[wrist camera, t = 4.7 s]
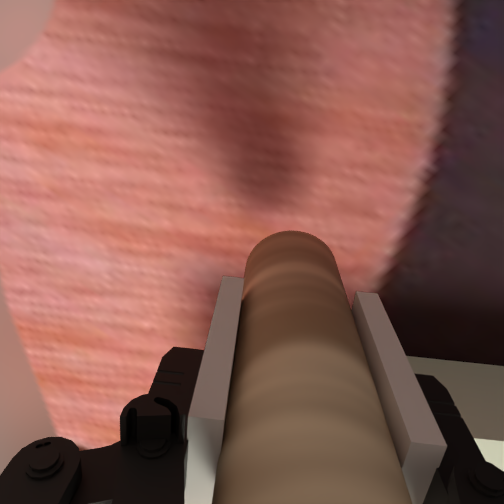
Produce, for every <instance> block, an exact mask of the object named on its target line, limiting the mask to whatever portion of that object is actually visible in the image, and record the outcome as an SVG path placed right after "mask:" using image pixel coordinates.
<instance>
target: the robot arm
mask: <svg viewBox="0 0 504 504" xmlns="http://www.w3.org/2000/svg"><path fill="white" fill-rule="evenodd" d="M243 285H244V278H238V277H230V276H223V277H222V281H221V285H220V289H219V293H218V297H217V301H216V305H215V309H214V313H213V317H212V321H211V325H210V330H209V334H208V338H207V342H206V346H205V350H198V349H189V348H181V347H173V348H172V349H171V350H170V351H169V352H167V353H166V354H165V355H164V356H163V357H162V360H161V362H160V365H159V367H158V370H157V372H156V375H155V378H154V380H153V383H152V385H151V388H150V391H149V393H148V394H145V395H141V396H139V397H137V398H135V399H133V400H131V401H130V402H129V403H128V404H127V405H126V406H125V407H124V409H123V411H122V413H121V415H120V439H121V441H119V442H117V443H114V444H112V445H109V446H106V447H102V448H96V449H90V450H84V451H79V448H78V447H77V446H76V444H75V443H74V442H73V441H71V440H69V439H66V438H63V437H47V438H44V439H40V440H37V441H34V442H32V443H31V444H29V445H27V446H26V447H24V448H22V449H21V450H20V451H19V452H18V453H17V454H16V455H15V456H14V457H13V458H12V460H11V461H10V462H9V464H8V466H7V467H6V468H5V469H4V471H3V472H2V474H1V475H0V504H212V497H213V490H214V484H215V477H216V470H217V464H218V459H219V456H220V453H221V447H222V440H223V432H224V425H225V418H226V411H227V404H228V396H229V389H230V382H231V375H232V368H233V361H234V353H235V346H236V339H237V332H238V325H239V317H240V310H241V303H242V294H243ZM351 312H352V315H353V318H354V321H355V324H356V327H357V330H358V334H359V337H360V340H361V343H362V346H363V349H364V352H365V356H366V359H367V362H368V365H369V368H370V371H371V375H372V378H373V381H374V384H375V387H376V390H377V393H378V397H379V400H380V403H381V406H382V409H383V412H384V415H385V419H386V422H387V425H388V428H389V431H390V434H391V438H392V441H393V444H394V447H395V450H396V453H397V456H398V460H399V463H400V466H401V469H402V472H403V475H404V478H405V482H406V485H407V488H408V491H409V494H410V497H411V500H412V504H504V471H502V470H501V469H499V468H498V467H496V466H495V465H493V464H492V463H489V462H487V461H486V460H485V458H484V457H483V455H482V453H481V451H480V449H479V447H478V445H477V444H476V442H475V440H474V438H473V436H472V434H471V432H470V431H469V429H468V427H467V425H466V423H465V421H464V419H463V418H461V414H460V412H459V410H458V408H457V406H455V403H454V401H453V399H452V397H451V395H450V393H449V392H448V390H447V388H446V387H445V386H444V385H443V384H441V383H440V382H439V381H438V380H437V379H436V378H435V377H434V376H432V375H424V374H415V373H414V372H413V370H412V368H411V366H410V364H409V361H408V359H407V357H406V355H405V353H404V350H403V348H402V346H401V344H400V342H399V339H398V337H397V335H396V333H395V331H394V329H393V326H392V324H391V322H390V320H389V318H388V315H387V313H386V311H385V309H384V307H383V304H382V302H381V300H380V298H379V296H378V294H377V293H368V292H360V291H356V293H355V298H354V302H353V306H352V311H351Z"/></svg>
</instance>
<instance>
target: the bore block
mask: <svg viewBox="0 0 504 504" xmlns="http://www.w3.org/2000/svg"><path fill="white" fill-rule="evenodd" d="M406 357H407V359H408V361H409V364H410V366H411V368H412V370H413V372H414V373H415V374H424V375H432V376H434V377H435V378H436V379H437V380H438V381H439V382H440V383H441V384H443V385H444V386H445V387H446V388H447V390H448V392H449V393H450V395H451V397H452V399H453V401H454V403H455V406H457V408H458V410H459V412H460V414H461V418H463V419H464V421H465V423H466V425H467V427H468V429H469V431H470V432H471V434H472V436H473V438H474V440H475V442H476V444H477V445H478V447H479V449H480V451H481V453H482V455H483V457H484V458H485V460H486V461H487V462H489V463H492V464H493V465H495V466H496V467H498V468H499V469H501V470H502V471H504V366H497V365H488V364H478V363H469V362H459V361H450V360H440V359H431V358H421V357H412V356H406Z"/></svg>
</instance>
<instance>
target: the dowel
mask: <svg viewBox="0 0 504 504" xmlns="http://www.w3.org/2000/svg"><path fill="white" fill-rule="evenodd" d="M212 504H412V500H411V497H410V494H409V491H408V488H407V485H406V482H405V478H404V475H403V472H402V469H401V466H400V463H399V460H398V456H397V453H396V450H395V447H394V444H393V441H392V438H391V434H390V431H389V428H388V425H387V422H386V419H385V415H384V412H383V409H382V406H381V403H380V400H379V397H378V393H377V390H376V387H375V384H374V381H373V378H372V375H371V371H370V368H369V365H368V362H367V359H366V356H365V352H364V349H363V346H362V343H361V340H360V337H359V334H358V330H357V327H356V324H355V321H354V318H353V315H352V312H351V308H350V305H349V302H348V299H347V296H346V293H345V290H344V286H343V283H342V280H341V277H340V274H339V271H338V267H337V264H336V261H335V258H334V256H333V254H332V252H331V250H330V249H329V248H328V246H327V245H326V244H325V243H324V242H322V241H321V240H320V239H318V238H317V237H315V236H313V235H311V234H308V233H305V232H301V231H283V232H278V233H275V234H272V235H270V236H268V237H266V238H265V239H263V240H262V241H261V242H259V243H258V244H257V245H256V246H255V247H254V249H253V250H252V252H251V253H250V255H249V257H248V260H247V263H246V268H245V275H244V285H243V294H242V303H241V310H240V317H239V325H238V332H237V339H236V346H235V353H234V361H233V368H232V375H231V382H230V389H229V396H228V404H227V411H226V418H225V425H224V432H223V440H222V447H221V453H220V456H219V459H218V464H217V470H216V477H215V484H214V490H213V497H212Z"/></svg>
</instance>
